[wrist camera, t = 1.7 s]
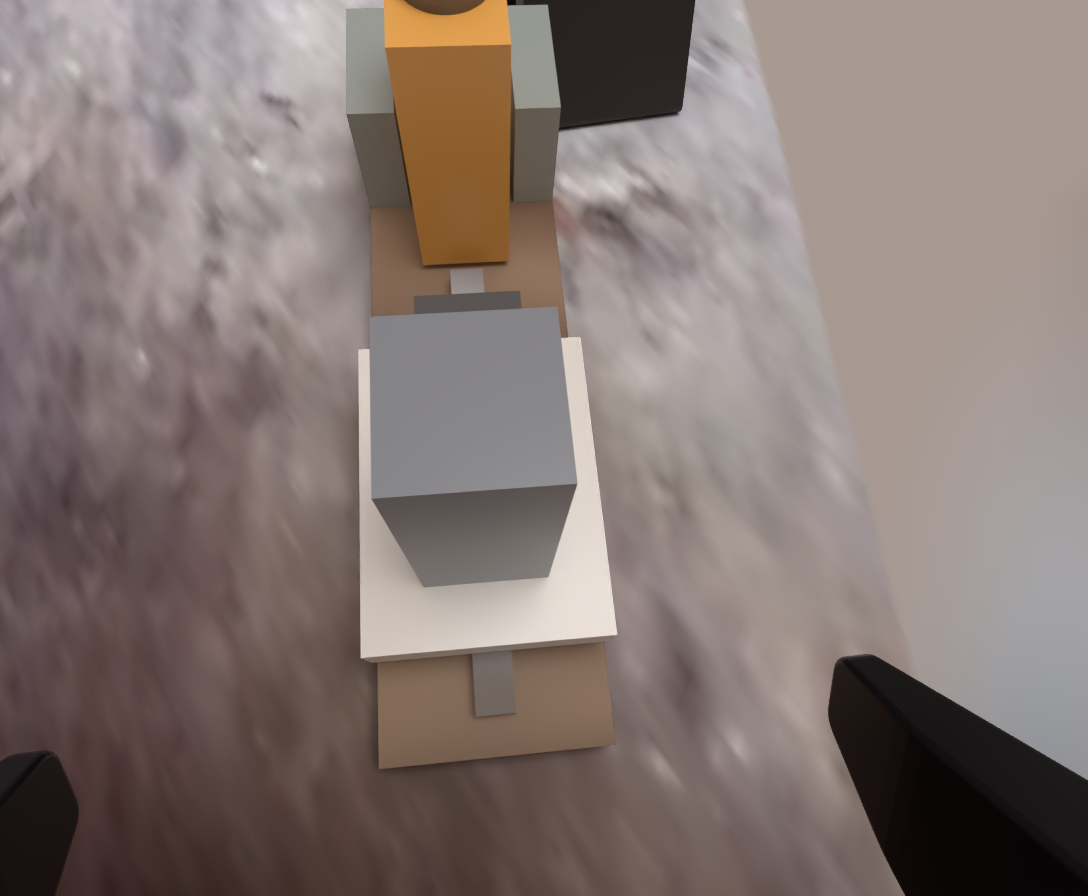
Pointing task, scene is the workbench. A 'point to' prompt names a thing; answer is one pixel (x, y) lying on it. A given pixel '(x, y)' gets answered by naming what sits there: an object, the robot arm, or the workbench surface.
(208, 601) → the workbench surface
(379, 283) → the rail bed
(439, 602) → the carriage
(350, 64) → the end housing
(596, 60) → the phone stand
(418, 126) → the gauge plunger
